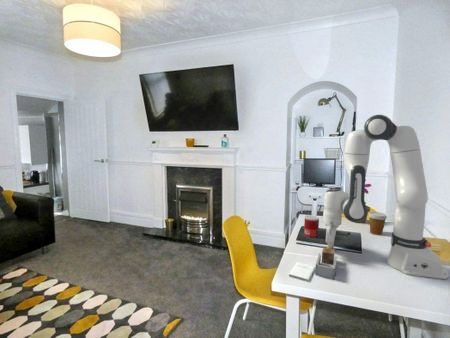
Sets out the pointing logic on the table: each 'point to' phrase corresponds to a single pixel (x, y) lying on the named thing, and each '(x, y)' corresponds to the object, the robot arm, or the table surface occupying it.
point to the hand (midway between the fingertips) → (330, 245)
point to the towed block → (328, 254)
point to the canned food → (311, 226)
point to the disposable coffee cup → (377, 222)
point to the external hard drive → (302, 271)
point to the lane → (325, 269)
